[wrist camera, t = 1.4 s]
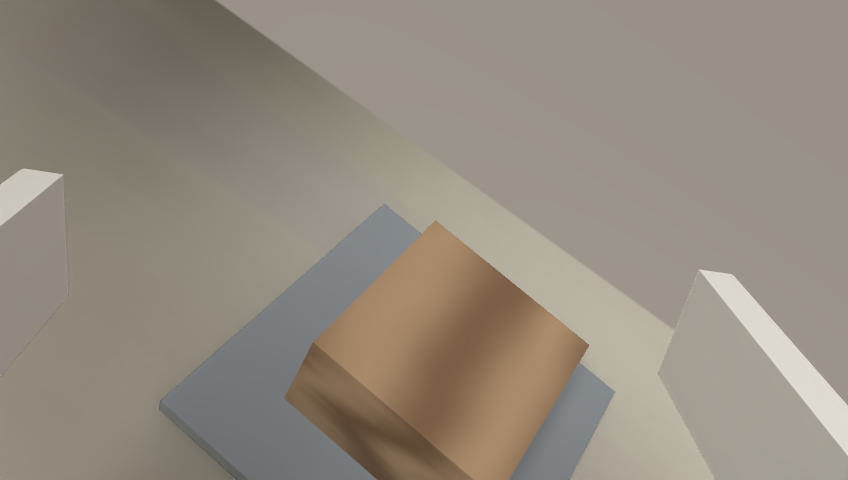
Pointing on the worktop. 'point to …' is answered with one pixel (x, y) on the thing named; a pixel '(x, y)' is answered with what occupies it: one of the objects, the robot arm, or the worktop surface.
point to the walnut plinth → (437, 368)
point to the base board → (286, 350)
